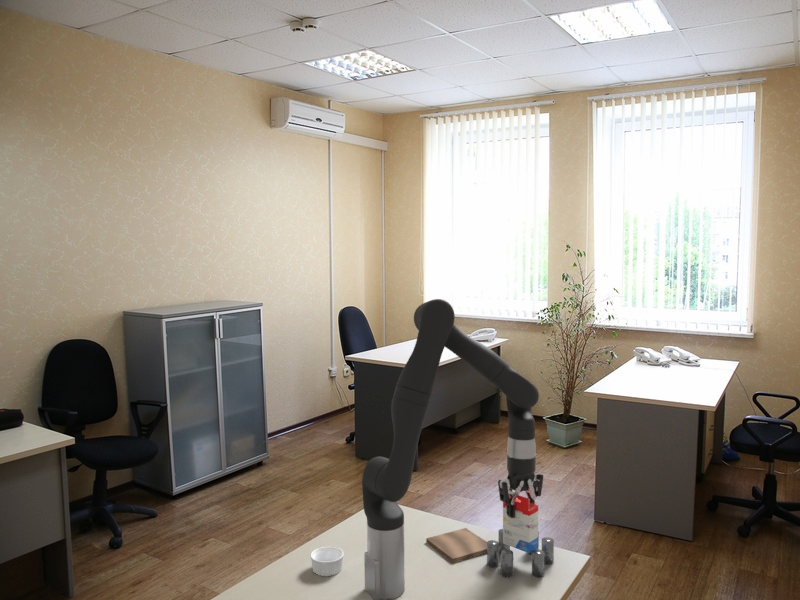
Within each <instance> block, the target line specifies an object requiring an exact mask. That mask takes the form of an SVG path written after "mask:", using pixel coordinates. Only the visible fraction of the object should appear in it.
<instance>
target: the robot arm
mask: <svg viewBox="0 0 800 600" xmlns="http://www.w3.org/2000/svg"><path fill="white" fill-rule="evenodd" d="M455 319H456V318H455V311H454V308H453V306H452V305H451V303H450V302H449V301H447V300H445V299H441V298H436V299H435V298H434V299H431V300H428V301H426V302H424V303H421V304H420V305H418V307H417V308H416V309H415V311H414V313H413V322H414V325H415V328H416V329H417V330H418V333H417V336H416V337H417V338H416V341H415V344H414V347H413V351H412V352H411V354H410V355H409V358H408V359H407V362H406V363H405V365H404V367H403V368H402V371H401V373H400V375H399V377H398V380H397V382H396V385H395V389H394V393H393V396H392V399H391V403H390V410H391V420H392V427H393V428H392V429H393V444H392V449H391V452H390V456H389V457H388V458H387V457H384V456H375V457H372V458H371V459H369V461H368V462H366V464H365V467H364V469H363V473H362V477H361V478H362V479H361V483H362V484H361V487H362V489H361V491H362V505H363V511H364V514H365V517H366V536H367V539H366V540H367V541H366V542H367V545H366V546H367V548H366V549H367V550H366V551H365V552H364V557H363V559H364V589H365V591H366V592H367V593H368V594H369V595H370V596H371V597H372V598H373V599H374V600H392V599H396V598H398V597H400V596H402V595H403V594H404V592H405V585H406V583H405V582H406V581H405V580H406V579H405V514H404V510H403V509H402V508H401V506H400V505H399V504H398V501H400V500H402V499H403V497H404V496H405V495H406V494H407V491H408V490H409V487H410V484H411V482H412V481H411V480H412V477H413V470H414V465H415V462H416V461H415V460H416V454H417V449H418V444H419V440H420V436H421V434H422V429H423V425H424V422H425V417H426V414H427V411H428V409H429V405H430V402H431V398H432V396H433V395H432V394H433V390H434V385H435V382H436V378H437V374H438V371H439V367H440V366H439V365H440V362H441V358H442V355H443V352H444V350H445V348H446V349H447V350H449V351H450V352H452V353H453V354H454V355H456V356H457V357H458V358H460V359H461V360H462V361H463V362H465V363H466V365H468V366H469V367H471V369H473V370H474V371H475V372H476V373H478V374H479V375H480V376H481V377H482V378H483V379H485V380H486V381H487V382H488V383H489V384H491V385H492V386H493V387H495V388H496V389H499V390H500V391H501V393H503V394H504V395H505V399H506V408H507V416H508V427H507V430H508V432H507V433H508V434H507V435H508V437H507V444H506V447H507V450H506V451H507V452H506V453H507V454H506V458H507V459H506V469H507V473H508V474H507V476H506V479H499V480H498V481H497V484H498V491H499V492H498V494H499V500H500V502H502V503H503V502H504V503H506V504H507V512H506V513H507V515H508V516H509V517H510V518H515V504H514V503H515V500H516V499H518V498H517V497H518V496H520V493H522V492H525V494H526V498H529V499H530V503H532V504H535V503H536V501H535V500H536V499H537V498H538V497H541V496H542V491H543V490H542V489H543V484H544V483H543V482H544V475H543V474H542V473H539V472H538V471H536V464H537V463H536V460H537V458H536V456H537V455H536V452H537V451H536V450H537V446H536V421H535V418H534V416H533V413H532V408H533V407H535V406H536V405H537V403H538V401H539V396H540V395H539V390H538V388H537V386H535V384H533V383H532V382H531V381H530V380H529V379H527V378H526V377H524V376H523V375H522V374H520V373H519V372H517V371H516V370H515V369H514V368H513V367H511V365H510V364H509V363H507V361H505V360H504V359H503V358H502V357H501V356H499V354H497V353H496V352H495V351H494V350H492V349H491V348H489V347H488V346H487V345H484V344H483V343H482V342H479V341H478V340H476V339H475V338H472V337H471V336H470V335H468V334H467V333H466V332H464V331H463V330H461V329H460V328H459V327H458V326H457V325H456V324H455ZM511 495H512V498H511Z"/></svg>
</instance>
